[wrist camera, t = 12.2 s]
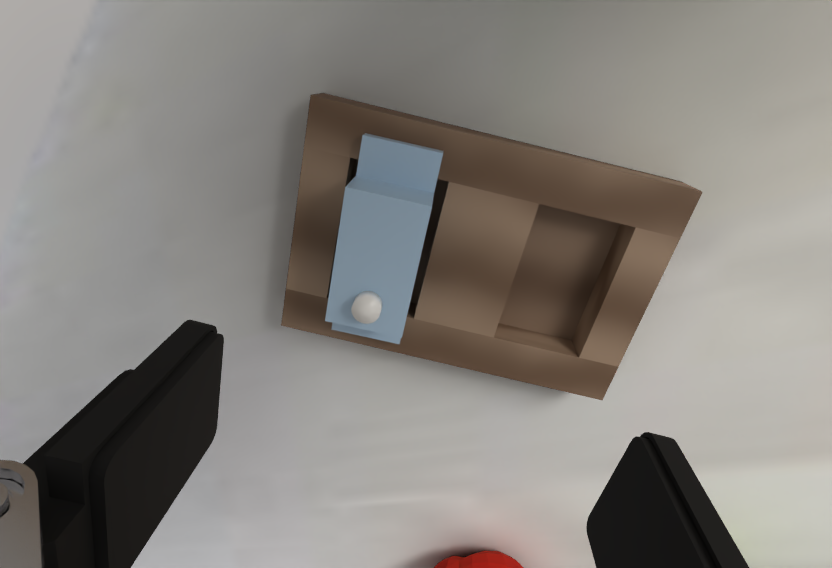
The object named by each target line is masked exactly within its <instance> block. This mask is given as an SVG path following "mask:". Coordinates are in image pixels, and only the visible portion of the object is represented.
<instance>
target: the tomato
mask: <svg viewBox="0 0 832 568" xmlns="http://www.w3.org/2000/svg"><path fill="white" fill-rule="evenodd" d="M434 568H523V567H522V566H521V565H520V564H519V563H518V562H517V561H516V560H515V559H513V558H512V557H510V556H508V555H506V554H503V553H501V552H499V551H482V552H478V553H474V554H471V555H469V556H467V557H459V556H451V557H449V558H446V559H444V560H442V561H441V562H439V563H438V564H437V565H436V566H435V567H434Z"/></svg>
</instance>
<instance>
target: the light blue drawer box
mask: <svg viewBox="0 0 832 568" xmlns="http://www.w3.org/2000/svg"><path fill="white" fill-rule="evenodd" d="M442 157H443V151H441V150H437V149H432V148H428V147H424V146H419V145H415V144H411V143H406V142H402V141H397V140H393V139H389V138H384V137H380V136H376V135H371V134H367V133H365V134H363V135H362V142H361V148H360V154H359V160H358V167H357V173H356V176H355V177H354V178H353V179H352V180H351V181H350V183H349V184H348V185H347V186H346V187H345V193H344V199H343V206H342V212H341V219H340V225H339V232H338V239H337V245H336V252H335V258H334V265H333V271H332V278H331V284H330V291H329V298H328V304H327V311H326V317H325V321H327V322H332V329H331V330H336V331H341V332H345V333H350V334H354V335H359V336H363V337H368V338H373V339H377V340H382V341H386V342H391V343H395V344H400V340H401V338H402V335H403V331H404V327H405V322H406V318H407V314H408V309H409V305H410V301H411V296H412V292H413V287H414V283H415V279H416V274H417V270H418V266H419V261H420V257H421V253H422V248H423V244H424V240H425V235H426V231H427V227H428V222H429V218H430V214H431V209H432V204H433V197H434V192H435V187H436V183H437V178H438V174H439V170H440V165H441V161H442Z"/></svg>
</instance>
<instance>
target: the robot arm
mask: <svg viewBox="0 0 832 568" xmlns="http://www.w3.org/2000/svg"><path fill="white" fill-rule="evenodd" d="M223 343H224V337H223V335H222V334H218V333H217V329H216V327H215V326H213V325H209V324H205V323H201V322H197V321H193V320H187V321H186V322H184V323H183V324H182V325H181V326H180V327H179V328H178V329H177V330H176V331H175V332H174V333H173V334H172V335H171V336H170V337H168V338H167V339H166V340H165V341H164V342H163V343H162V344H161V345H160V346H159V347H158V348H157V349H156V350H155V351H154V352H153V353H152V354H150V355H149V356H148V357H147V358H146V359H145V360H144V361H143V362H142V363H141V364H140V365H139V366H138V367H137V368H136V369H135V370H131V369H130V370H127V371H124V372H123V373H122V374H120V375H119V376H118V377H117V378H116V379H114V380H113V381H112V382H111V383H110V384H109V385H108V386H107V387H106V388H105V389H104V390H103V391H101V392H100V393H99V394H98V395H97V396H96V397H95V398H94V399H93V400H92V401H91V402H89V403H88V404H87V405H86V406H85V407H84V408H83V409H82V410H81V411H80V412H79V413H77V414H76V415H75V416H74V417H73V418H72V419H71V420H70V421H69V422H68V423H67V424H65V425H64V426H63V427H62V428H61V429H60V430H59V431H58V432H57V433H56V434H55V435H53V436H52V437H51V438H50V439H49V440H48V441H47V442H46V443H45V444H44V445H43V446H41V447H40V448H39V449H38V450H37V451H36V452H35V453H34V454H33V455H32V456H31V457H29V458H28V459H27V460H26V461H25V462H24V463H23V464H22V463H18V462H15V461H8V460H0V568H131V566H132V565H133V563H134V562H135V560H136V558H137V557H138V555H139V554H140V552H141V551H142V549H143V548H144V546H145V545H146V543H147V542H148V540H149V538H150V537H151V535H152V534H153V532H154V531H155V529H156V528H157V526H158V525H159V523H160V522H161V520H162V518H163V517H164V515H165V514H166V512H167V511H168V509H169V508H170V506H171V505H172V503H173V502H174V500H175V498H176V497H177V495H178V494H179V492H180V491H181V489H182V488H183V486H184V485H185V483H186V482H187V480H188V479H189V477H190V475H191V474H192V472H193V471H194V469H195V468H196V466H197V465H198V463H199V462H200V460H201V459H202V457H203V455H204V454H205V452H206V451H207V449H208V448H209V446H210V445H211V443H212V441H213V439H214V436H215V433H216V430H217V420H218V407H219V394H220V382H221V369H222V356H223ZM587 535H588V539H589V542H590V546H591V549H592V553H593V557H594V560H595V564H596V568H749V567H748V565H747V563H746V561H745V560H744V558H743V556H742V554H741V553H740V551H739V549H738V548H737V546H736V544H735V542H734V541H733V539H732V537H731V535H730V534H729V532H728V530H727V529H726V527H725V525H724V523H723V522H722V520H721V518H720V516H719V515H718V513H717V511H716V510H715V508H714V506H713V504H712V503H711V501H710V499H709V497H708V496H707V494H706V492H705V491H704V489H703V487H702V485H701V484H700V482H699V480H698V479H697V477H696V475H695V473H694V472H693V470H692V468H691V466H690V465H689V463H688V461H687V460H686V458H685V456H684V454H683V453H682V451H681V449H680V447H679V446H678V444H677V443H676V441H675V440H674V439H672V438H669V437H665V436H661V435H657V434H653V433H649V432H646V433H643V434H642V435H641V436H640V437H635V438H633V439H632V441H631V443H630V444H629V446H628V448H627V450H626V451H625V453H624V455H623V457H622V458H621V460H620V462H619V464H618V466H617V467H616V469H615V471H614V473H613V474H612V476H611V478H610V480H609V481H608V483H607V485H606V487H605V489H604V490H603V492H602V494H601V496H600V497H599V499H598V501H597V503H596V504H595V506H594V508H593V510H592V511H591V513H590V515H589V517H588V521H587Z"/></svg>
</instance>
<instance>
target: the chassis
mask: <svg viewBox="0 0 832 568" xmlns="http://www.w3.org/2000/svg"><path fill="white" fill-rule="evenodd" d="M365 133H367V134H371V135H376V136H380V137H384V138H389V139H393V140H397V141H402V142H406V143H411V144H415V145H419V146H424V147H428V148H432V149H437V150H441V151H443V157H442V161H441V165H440V170H439V174H438V178H437V183H436V187H435V192H434V197H433V204H432V209H431V214H430V218H429V222H428V227H427V231H426V235H425V240H424V244H423V248H422V253H421V257H420V261H419V266H418V270H417V274H416V279H415V283H414V287H413V292H412V296H411V301H410V305H409V309H408V314H407V318H406V322H405V327H404V331H403V335H402V338H401V340H400V344H395V343H391V342H386V341H382V340H377V339H373V338H368V337H363V336H359V335H354V334H350V333H345V332H341V331H336V330H331V329H332V322H327V321H325V317H326V311H327V304H328V298H329V291H330V284H331V278H332V271H333V265H334V258H335V252H336V245H337V239H338V232H339V225H340V219H341V212H342V206H343V199H344V193H345V187H346V186H347V185H348V184H349V183H350V181H351V180H352V179H353V178H354V177H355V176H356V173H357V167H358V160H359V154H360V148H361V142H362V135H363V134H365ZM701 194H702V192H701V191H699V190H697V189H695V188H693V187H691V186H689V185H687V184H685V183H683V182H680V181H676V180H672V179H668V178H664V177H660V176H656V175H652V174H648V173H644V172H640V171H636V170H632V169H628V168H624V167H620V166H616V165H612V164H608V163H604V162H600V161H596V160H592V159H588V158H584V157H580V156H576V155H572V154H567V153H563V152H559V151H555V150H551V149H547V148H543V147H539V146H535V145H531V144H527V143H523V142H519V141H515V140H511V139H507V138H503V137H499V136H495V135H491V134H487V133H483V132H479V131H475V130H471V129H467V128H463V127H459V126H455V125H450V124H446V123H442V122H438V121H434V120H430V119H426V118H422V117H418V116H414V115H410V114H406V113H402V112H398V111H394V110H390V109H386V108H382V107H378V106H374V105H370V104H366V103H362V102H358V101H354V100H350V99H346V98H342V97H337V96H333V95H329V94H325V93H320V94H314V95H311V97H310V104H309V112H308V120H307V128H306V136H305V143H304V151H303V159H302V167H301V175H300V183H299V190H298V198H297V206H296V214H295V222H294V230H293V237H292V245H291V253H290V261H289V269H288V276H287V284H286V292H285V300H284V308H283V316H282V323H281V325H282V326H286V327H290V328H295V329H299V330H303V331H307V332H312V333H316V334H320V335H325V336H329V337H333V338H337V339H342V340H346V341H350V342H355V343H359V344H363V345H367V346H372V347H376V348H380V349H385V350H389V351H393V352H398V353H402V354H406V355H410V356H415V357H419V358H423V359H428V360H432V361H436V362H440V363H445V364H449V365H453V366H458V367H462V368H466V369H470V370H475V371H479V372H483V373H488V374H492V375H496V376H500V377H505V378H509V379H513V380H518V381H522V382H526V383H531V384H535V385H539V386H543V387H548V388H552V389H556V390H561V391H565V392H569V393H573V394H578V395H582V396H586V397H591V398H595V399H599V400H603V398H604V396H605V393H606V391H607V389H608V387H609V385H610V383H611V381H612V379H613V377H614V375H615V373H616V371H617V369H618V366H619V364H620V362H621V360H622V358H623V356H624V354H625V352H626V350H627V348H628V346H629V344H630V342H631V339H632V337H633V335H634V333H635V331H636V329H637V327H638V325H639V323H640V321H641V319H642V317H643V315H644V312H645V310H646V308H647V306H648V304H649V302H650V300H651V298H652V296H653V294H654V292H655V290H656V288H657V286H658V283H659V281H660V279H661V277H662V275H663V273H664V271H665V269H666V267H667V265H668V263H669V261H670V259H671V256H672V254H673V252H674V250H675V248H676V246H677V244H678V242H679V240H680V238H681V236H682V234H683V232H684V229H685V227H686V225H687V223H688V221H689V219H690V217H691V215H692V213H693V211H694V209H695V207H696V205H697V202H698V200H699V198H700V196H701Z"/></svg>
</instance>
